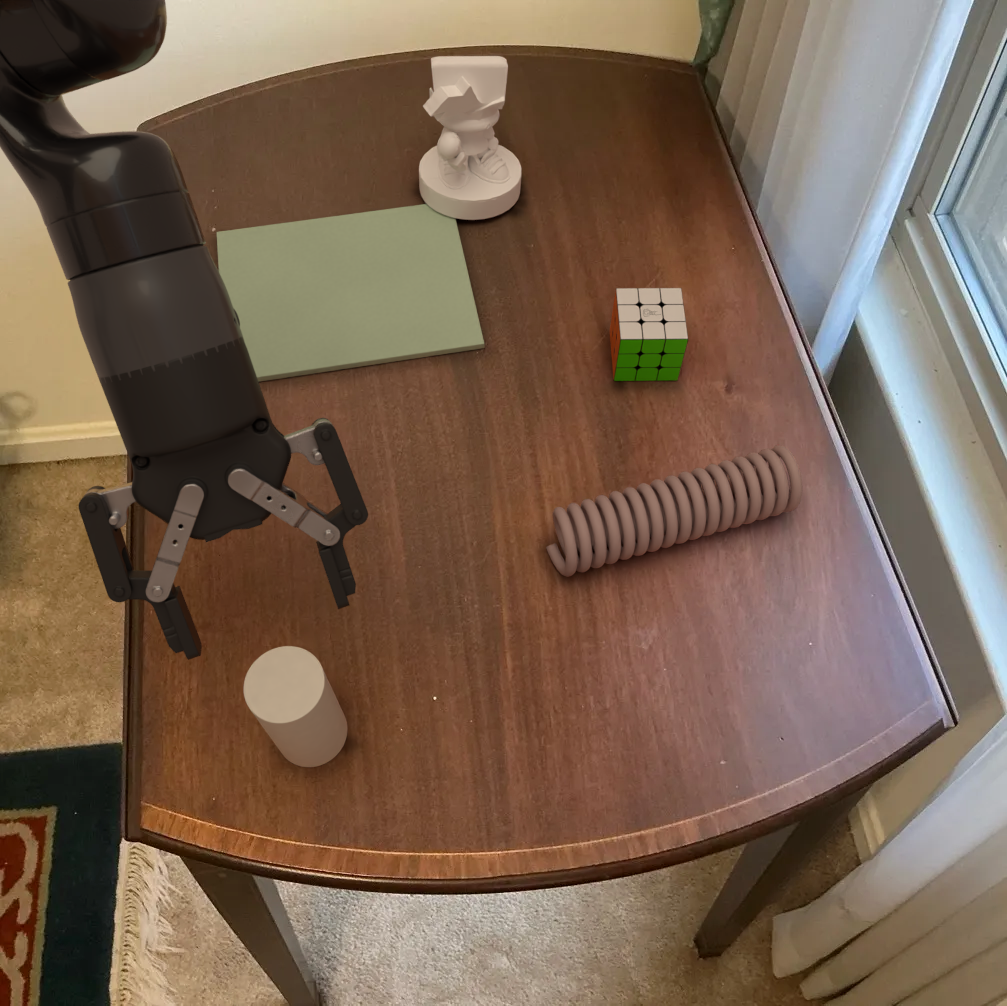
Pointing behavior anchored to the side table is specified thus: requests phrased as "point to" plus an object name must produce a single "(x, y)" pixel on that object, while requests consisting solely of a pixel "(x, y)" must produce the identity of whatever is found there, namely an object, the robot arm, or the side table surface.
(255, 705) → the cylinder
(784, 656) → the side table surface
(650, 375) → the rubik's cube
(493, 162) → the character figurine
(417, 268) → the mat
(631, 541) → the coil
